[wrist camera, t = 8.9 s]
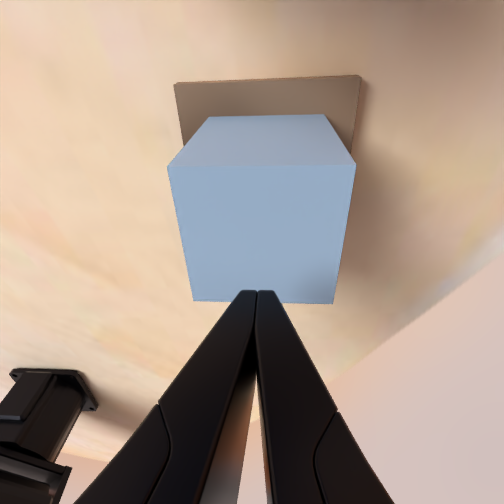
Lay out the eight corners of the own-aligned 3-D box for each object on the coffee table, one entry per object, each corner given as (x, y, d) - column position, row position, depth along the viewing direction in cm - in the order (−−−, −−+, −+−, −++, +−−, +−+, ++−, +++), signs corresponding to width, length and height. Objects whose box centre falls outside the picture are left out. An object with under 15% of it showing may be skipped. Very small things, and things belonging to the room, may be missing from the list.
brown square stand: (335, 231, 18) (357, 303, 13) (201, 231, 18) (176, 300, 14) (357, 75, 13) (403, 96, 8) (178, 82, 14) (126, 106, 9)
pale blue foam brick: (314, 217, 16) (332, 304, 11) (219, 217, 17) (193, 301, 11) (324, 114, 13) (356, 165, 8) (208, 116, 14) (166, 167, 8)
